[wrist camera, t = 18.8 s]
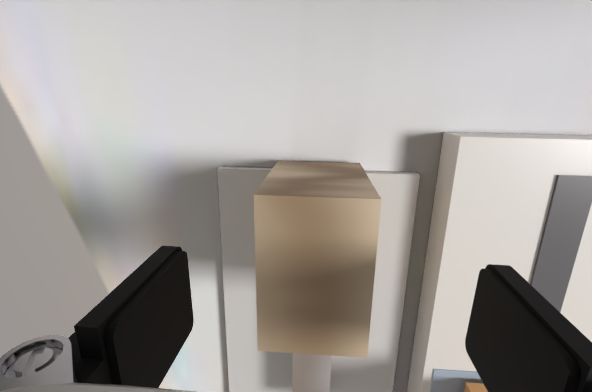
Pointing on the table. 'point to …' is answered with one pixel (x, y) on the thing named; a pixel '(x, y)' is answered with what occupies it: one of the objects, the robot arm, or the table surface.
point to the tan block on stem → (315, 265)
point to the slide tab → (475, 387)
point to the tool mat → (242, 287)
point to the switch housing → (502, 239)
